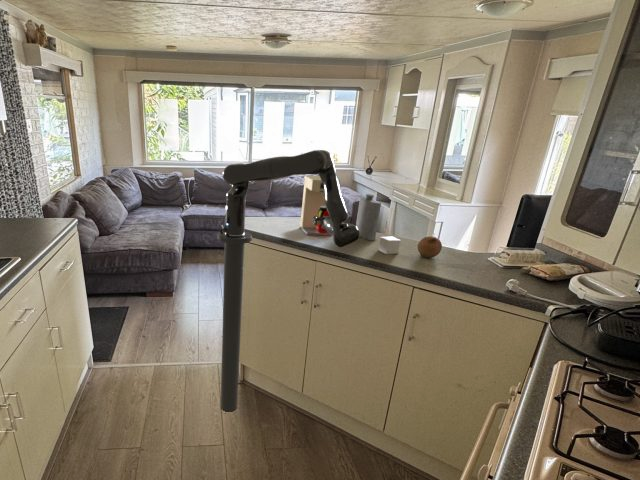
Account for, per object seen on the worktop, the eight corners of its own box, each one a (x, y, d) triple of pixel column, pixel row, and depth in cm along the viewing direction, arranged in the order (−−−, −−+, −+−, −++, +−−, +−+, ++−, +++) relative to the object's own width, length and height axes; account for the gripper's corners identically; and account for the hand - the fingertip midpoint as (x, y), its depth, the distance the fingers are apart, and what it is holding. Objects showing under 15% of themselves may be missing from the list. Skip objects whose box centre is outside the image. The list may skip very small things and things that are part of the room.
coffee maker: (333, 235, 208) (340, 180, 198) (307, 235, 207) (313, 180, 196) (324, 227, 221) (330, 176, 211) (299, 227, 220) (305, 175, 209)
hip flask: (376, 240, 203) (383, 197, 195) (368, 240, 202) (375, 198, 194) (359, 231, 217) (365, 191, 209) (352, 231, 216) (358, 191, 208)
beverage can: (329, 230, 206) (332, 205, 201) (329, 234, 200) (333, 208, 195) (315, 230, 206) (318, 205, 202) (316, 233, 201) (319, 207, 196)
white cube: (378, 250, 189) (380, 236, 187) (390, 249, 190) (392, 236, 188) (385, 254, 184) (388, 240, 181) (398, 253, 185) (400, 240, 183)
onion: (429, 266, 180) (437, 248, 173) (410, 255, 185) (416, 237, 177) (442, 254, 184) (449, 237, 177) (422, 244, 189) (429, 227, 181)
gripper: (350, 217, 187) (338, 209, 202) (318, 217, 185) (308, 209, 201) (348, 234, 190) (336, 225, 205) (316, 234, 188) (307, 224, 204)
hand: (322, 217), depth 203 cm, fingers closed on beverage can, 6 cm apart
